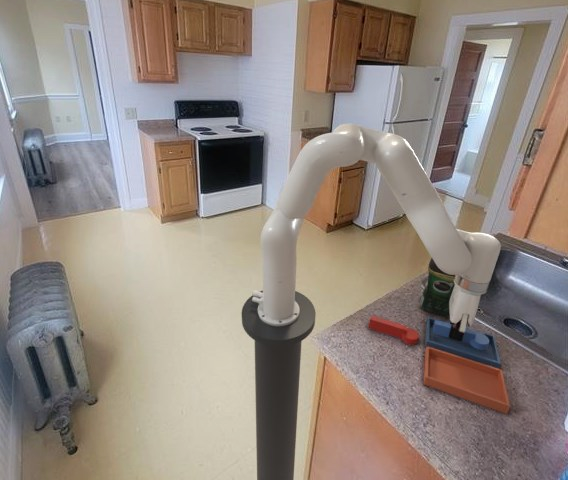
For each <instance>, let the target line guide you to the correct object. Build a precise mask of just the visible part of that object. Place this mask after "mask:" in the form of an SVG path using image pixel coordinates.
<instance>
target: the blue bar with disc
mask: <svg viewBox="0 0 568 480" xmlns="http://www.w3.org/2000/svg"><path fill="white" fill-rule="evenodd" d="M438 320H439V319H438ZM438 320H435V321H434V326H433V333H434V334H437V335H441V336H445V337H448V338H449V333H450V329H451V326H453V324H450V322H449V323H446V322H447V321H445V322H442V321H443V320H441V321H438ZM469 328H470V327H466V329H465V333H464V335H463V339H462V341H463V342H466V343H470V344H471V345H472V346H473V347H474V348H476V349H479V350H486V349H487V348H488V345H489V339H488V337H487V336H485V335H484V334H482V333H479V332H476V331H475V330H476V329H473V328H470V329H469ZM472 329H473V330H472Z"/></svg>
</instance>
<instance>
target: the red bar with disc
mask: <svg viewBox="0 0 568 480" xmlns="http://www.w3.org/2000/svg"><path fill="white" fill-rule="evenodd" d="M368 329H369V330H373V331H375V332H379V333H382V334H385V335H389V336H392V337H395V338H399V339H401V340H402V341H403V342H404V343H405V344H406V345H410V346H414V345H417V343H418V341H419V338H420V335H419V332H418V331H417V330H415V329H414V328H411V327H408V325H405V324H402V323H398V322H395V321H392V320H389V319H385V318H382V317H378V316H375V315H370V317H369V322H368Z"/></svg>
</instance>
